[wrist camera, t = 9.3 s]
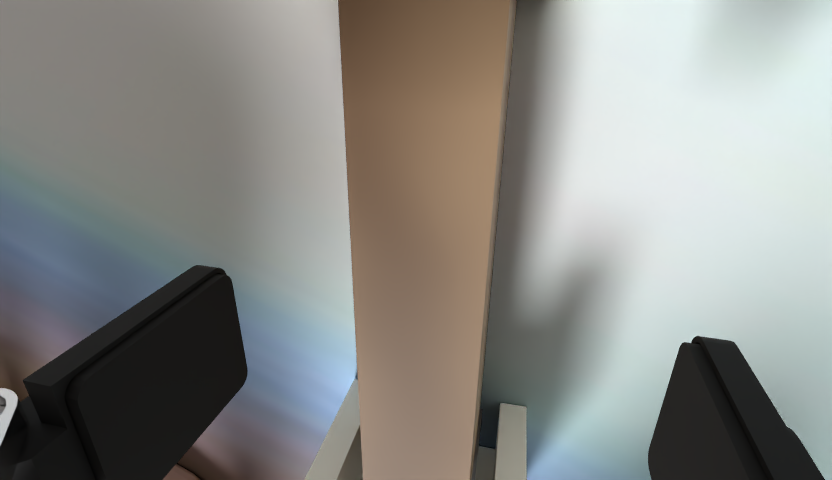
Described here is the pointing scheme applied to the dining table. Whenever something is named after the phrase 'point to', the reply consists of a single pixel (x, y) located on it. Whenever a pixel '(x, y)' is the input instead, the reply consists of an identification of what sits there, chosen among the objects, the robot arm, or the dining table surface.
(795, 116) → the dining table surface
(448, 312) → the rail
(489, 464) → the white u-channel cradle
